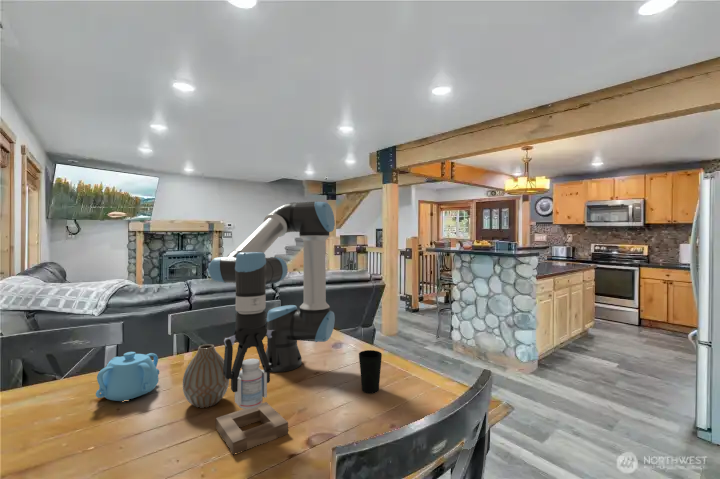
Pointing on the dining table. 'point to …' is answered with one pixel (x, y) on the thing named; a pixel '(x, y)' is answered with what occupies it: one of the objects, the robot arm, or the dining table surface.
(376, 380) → the cup
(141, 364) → the decorative pot
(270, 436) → the socket block
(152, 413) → the dining table surface
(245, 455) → the dining table surface
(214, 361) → the vase
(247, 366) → the pill bottle
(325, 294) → the robot arm
